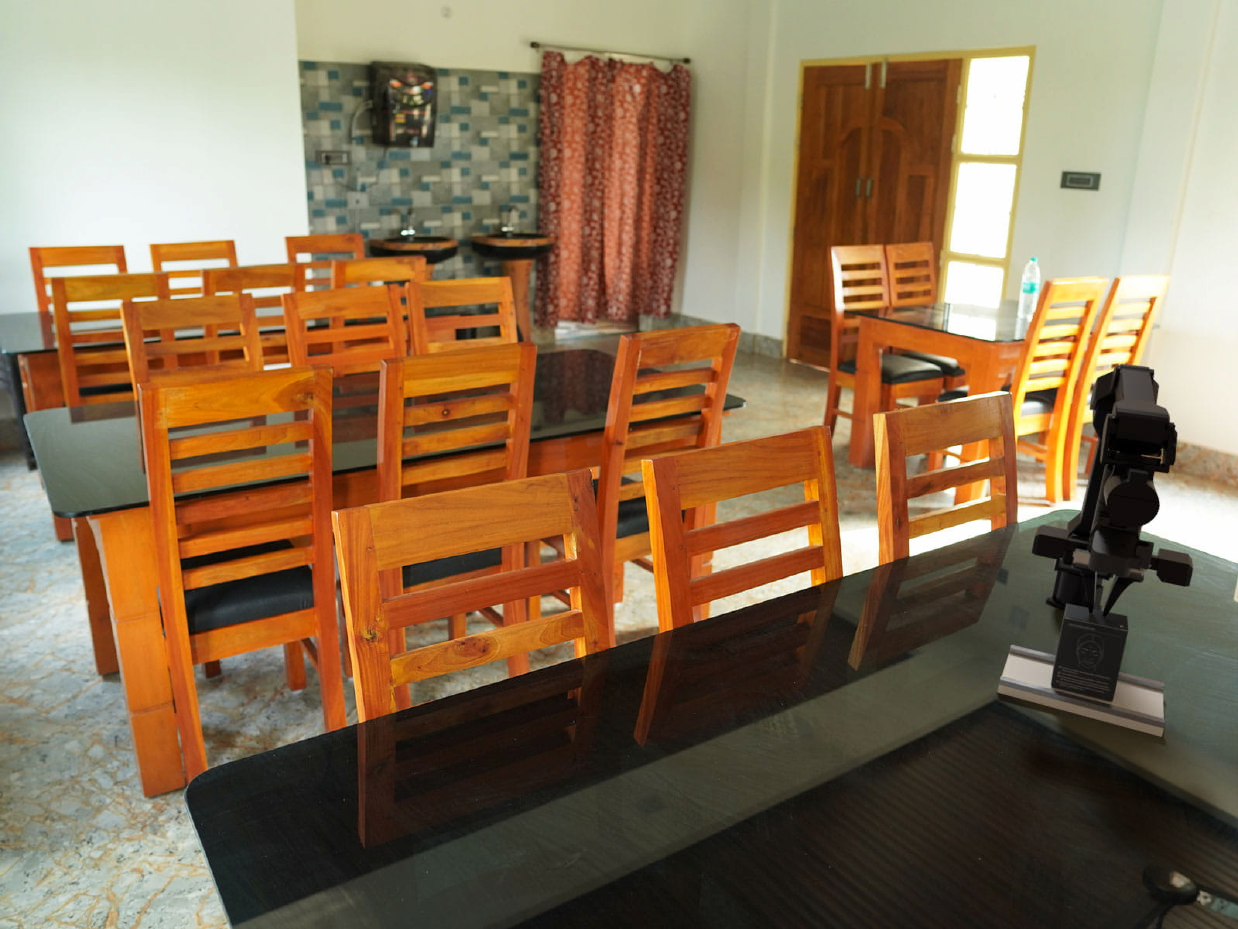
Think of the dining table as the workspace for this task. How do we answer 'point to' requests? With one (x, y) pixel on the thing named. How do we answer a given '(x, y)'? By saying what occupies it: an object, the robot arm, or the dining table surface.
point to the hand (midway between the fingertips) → (1097, 614)
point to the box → (1089, 652)
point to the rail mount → (1129, 708)
